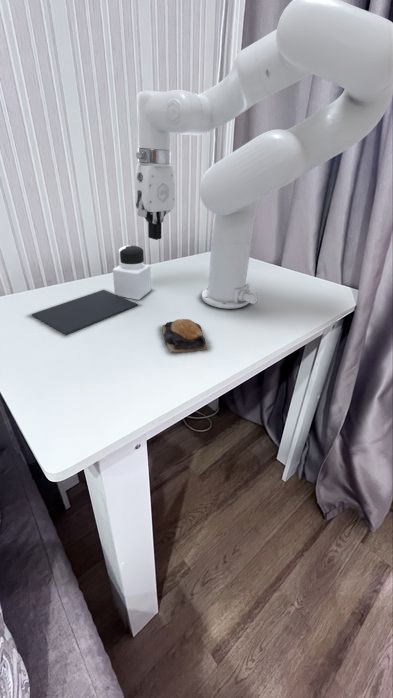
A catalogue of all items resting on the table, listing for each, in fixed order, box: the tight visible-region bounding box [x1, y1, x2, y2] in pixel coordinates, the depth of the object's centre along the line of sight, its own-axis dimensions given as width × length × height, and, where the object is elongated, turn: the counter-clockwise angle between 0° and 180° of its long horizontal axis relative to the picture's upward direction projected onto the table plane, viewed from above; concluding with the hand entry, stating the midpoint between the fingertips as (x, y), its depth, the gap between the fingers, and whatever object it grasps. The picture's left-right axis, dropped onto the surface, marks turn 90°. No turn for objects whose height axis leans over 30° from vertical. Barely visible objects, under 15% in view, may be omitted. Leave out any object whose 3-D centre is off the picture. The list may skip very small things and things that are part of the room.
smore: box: [161, 318, 208, 354], centre depth 68 cm, size 11×8×4 cm
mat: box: [31, 289, 139, 336], centre depth 78 cm, size 13×20×1 cm, turn 142°
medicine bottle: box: [112, 245, 152, 301], centre depth 84 cm, size 7×7×12 cm
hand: (154, 238), depth 87 cm, fingers closed
